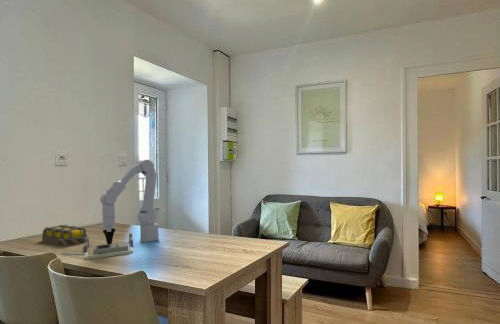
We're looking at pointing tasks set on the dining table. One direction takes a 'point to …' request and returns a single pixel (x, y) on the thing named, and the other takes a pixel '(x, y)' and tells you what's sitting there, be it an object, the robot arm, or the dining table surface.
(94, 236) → the dining table surface
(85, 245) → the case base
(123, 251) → the bay
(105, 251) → the handheld gaming device
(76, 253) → the stay bar
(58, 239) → the cage light
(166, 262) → the dining table surface
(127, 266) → the dining table surface
